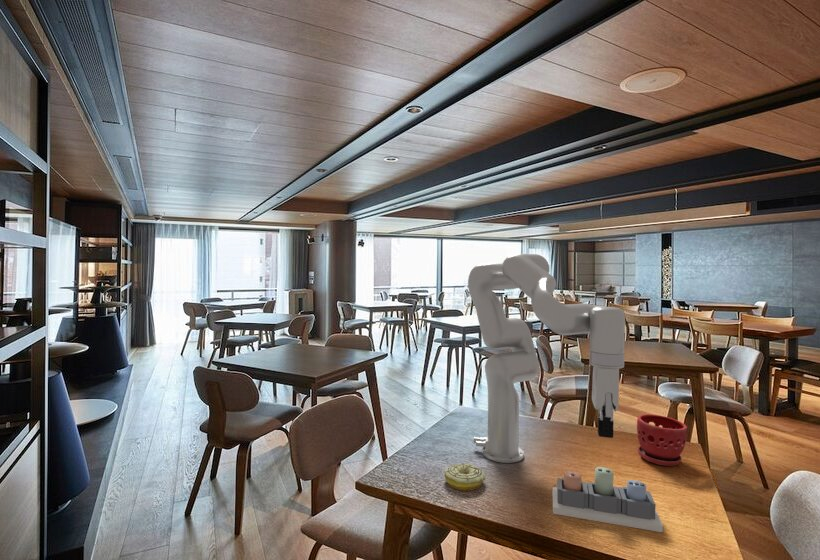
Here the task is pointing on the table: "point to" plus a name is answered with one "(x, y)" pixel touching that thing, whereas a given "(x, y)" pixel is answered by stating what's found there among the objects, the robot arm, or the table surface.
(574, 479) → the button one pip
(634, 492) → the button three pip
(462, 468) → the decorated donut
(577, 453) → the table surface
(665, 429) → the plant pot
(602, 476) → the button two pip
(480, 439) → the robot arm
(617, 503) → the button board
